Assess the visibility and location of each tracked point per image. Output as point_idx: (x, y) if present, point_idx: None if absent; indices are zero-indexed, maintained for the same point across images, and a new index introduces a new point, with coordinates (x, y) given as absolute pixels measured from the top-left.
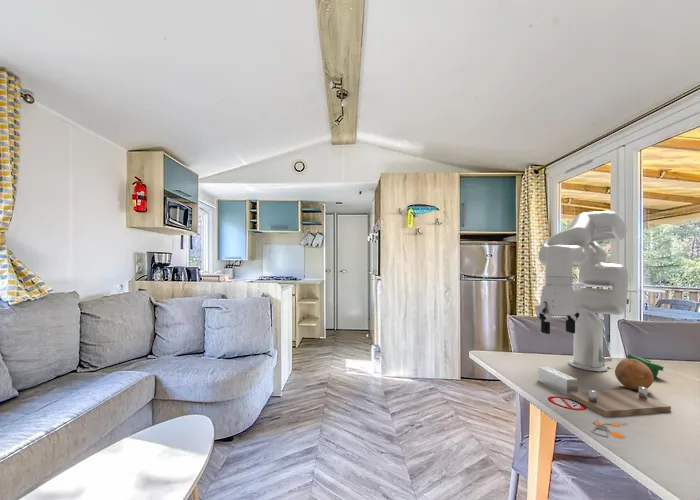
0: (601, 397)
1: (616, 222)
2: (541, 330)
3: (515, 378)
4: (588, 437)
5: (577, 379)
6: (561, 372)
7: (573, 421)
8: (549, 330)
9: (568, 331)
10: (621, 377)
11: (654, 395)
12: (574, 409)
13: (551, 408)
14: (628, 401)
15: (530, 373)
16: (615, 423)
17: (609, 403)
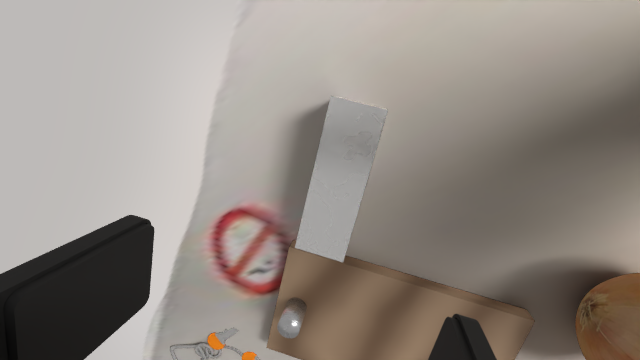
0: (353, 306)
1: None
2: (123, 223)
3: (268, 40)
4: (147, 351)
5: (341, 261)
6: (362, 188)
7: (175, 310)
8: (111, 325)
9: (434, 348)
10: (586, 317)
11: None
12: (234, 282)
13: (182, 253)
14: (399, 355)
15: (391, 13)
16: (256, 357)
17: (327, 334)
